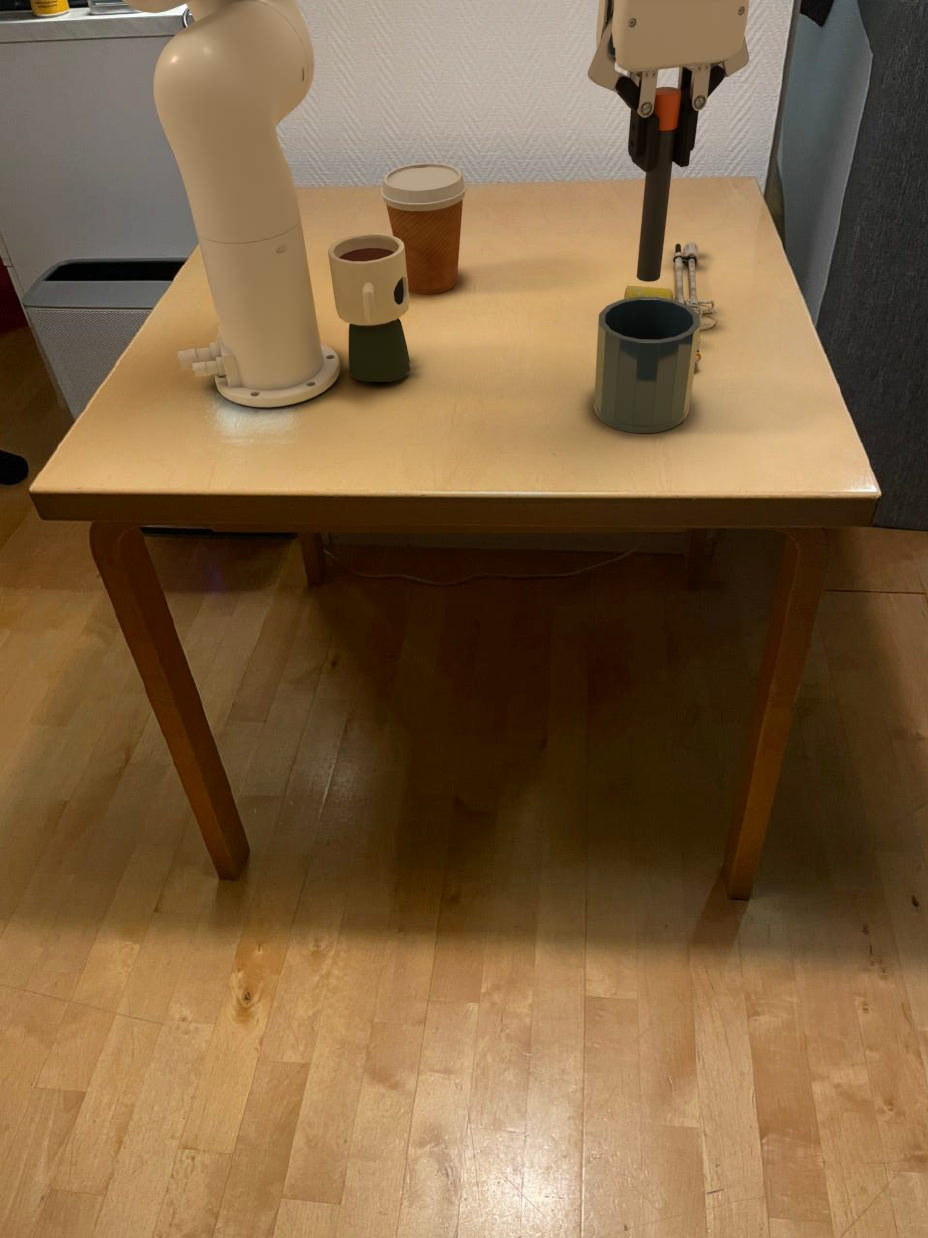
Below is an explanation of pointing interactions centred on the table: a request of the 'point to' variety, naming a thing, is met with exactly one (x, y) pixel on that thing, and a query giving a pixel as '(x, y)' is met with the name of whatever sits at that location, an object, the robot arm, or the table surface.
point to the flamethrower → (678, 285)
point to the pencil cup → (645, 363)
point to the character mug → (372, 303)
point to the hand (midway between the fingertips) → (659, 161)
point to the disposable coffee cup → (427, 222)
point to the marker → (658, 186)
